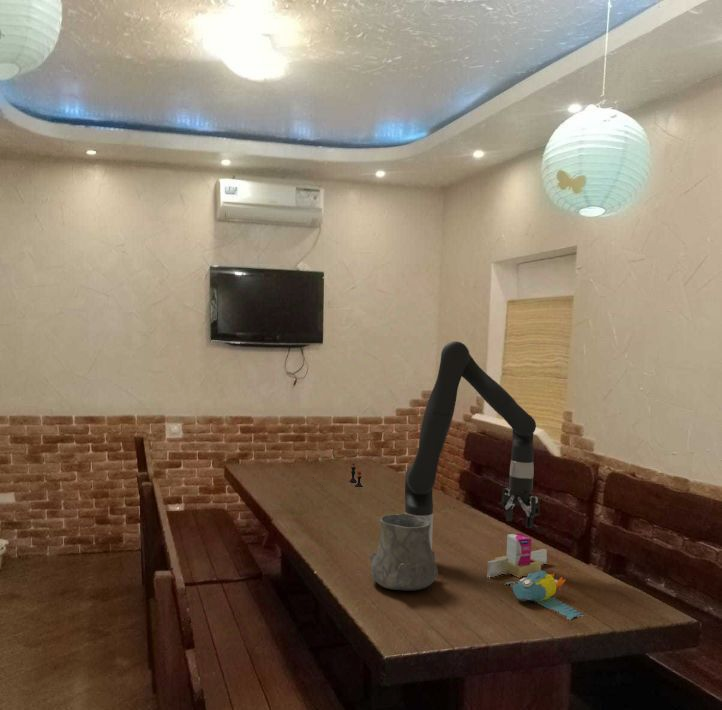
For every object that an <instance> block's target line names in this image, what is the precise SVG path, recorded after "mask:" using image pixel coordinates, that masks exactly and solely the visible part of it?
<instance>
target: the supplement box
mask: <svg viewBox="0 0 722 710" xmlns="http://www.w3.org/2000/svg"><path fill="white" fill-rule="evenodd" d="M531 552H532V538H531V537H529V536H527V535H526V534H525V533H512V534H511V533H510V534H509V533H508V534H507V539H506V558H508V562H511V563H513V564H516V565H518V566H520V565H524V564H528V563H530V558H531Z"/></svg>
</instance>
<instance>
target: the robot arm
mask: <svg viewBox="0 0 722 710" xmlns="http://www.w3.org/2000/svg"><path fill="white" fill-rule="evenodd" d="M437 372H438V374H437V376H436V377H437V378H436V381H435V384H434V386H433V389H432V391H431V393H430V395H429V398H428V400H427V403H426V406H425V409H424V413H423V417H422V421H421V426H420V433H419V443H418V449H417V453H416V456H415V458H414V462H413V463H412V464H410V465H409V467H407V469H406V471H405V479H404V480H405V481H404V482H405V483H404V488H405V492H404V508H405V509H404V514H412V515H416V516H421V517H424V518H426V519H427V520H429V521H430V528H429V541H430V546H431V550H432V551H433V549H432V547H433V526H434V525H433V520H434V499H433V487H434V486H435V484H436V483H435V482H436V477H437V473H438V471H437V470H438V466H439V461H440V457H441V453H442V450H443V447H444V445H445V442H446V439H447V436H448V433H449V431H450V427H451V423H452V420H453V418H454V417H453V416H454V413H455V409H456V403H457V396H458V390H459V385H460V382H461V381H462V378H463V380H465V381H467V382H468V383H469V385H470V386H472V387H473V389H474V390H475V391H476V393H478V394H479V395H480V397H481V398H482V399H483V400H484V401H485V403H487V404H488V406H490V407H491V408H492V409H493V411H495V413H497V414H498V415H499V416H500V417H502V418H503V419H504V421H505V422H506V423H507V424H508V425H509V427H510V428H512V429H511V430H512V431H511V433H512V436H511V437H512V445H511V454H510V455H511V459H510V464H509V465H510V466H509V481H508V483H509V484H508V487H507V488H502V492H501V501H500V503H501V507H504V509H505V519H506V522H512V521H513V515H514V509H513V508H514V507H515V506H518V507H520V508H522V511H524V512H525V514H526V516H525V528H526V529H532V527H533V526H534V518H535V517H537V516H540V497H539V496H532V492H533V489H534V488H533V487H534V472H535V471H534V470H535V469H534V467H535V465H534V456H535V455H534V454H535V449H534V443H533V442H534V433H535V432H536V428H537V423H536V420H535V418H534V417H533V416H532V415H530V414H529V413H528V412H527V411H526V410H525V409H523V408H522V407H521V405H519V404H518V402H517V401H516V399H514V398H513V397H512V396H511V395H510V394H509V393H508V392H507V390H505V389H504V388H503V387H502V386H501V385H500V384H499V383H498V382H497V381H496V380H494V379H493V378H492V377H491V376H490V375H488V373H486V372H485V371H484V370H483V369H482V368H481V366H479V364H477V362H476V361H475V359H474V358H473V357H472V355H471V354H470V350H469V348H468V347H467V346H466V345H465V344H464V343H462V342H460V341H450V342H449V343H447V344H445V345H444V347H443V348H442V350H441V354H440V362H439V367H438V371H437Z"/></svg>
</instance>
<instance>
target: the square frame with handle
mask: <svg viewBox="0 0 722 710" xmlns="http://www.w3.org/2000/svg"><path fill="white" fill-rule="evenodd" d="M547 555H548V550H547V549H546V548H541V549H537V550H531V558H530V563H528V564H524V565H520V566H518V565H516V564H513V563H511V562H508V558H506V555H502V556H498V557H497V556H496V557H494V559H491V560H489V561H487V564H486V569H487V570H486V578H488V577H489V578H488V579H491V578H490V577H493V578H495V577H494V576H497V577H499V576H498V575H501V574H505V573H510V574H512V575H514V576H517V577H522V576H526V575H529V573H531V574H532V573H535V572H538V571H542V566H544V565H543V564H546V565H547V560H548V559H547ZM541 565H542V566H541ZM505 575H506V574H505ZM501 576H502V575H501ZM514 576H513V577H514Z"/></svg>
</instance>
